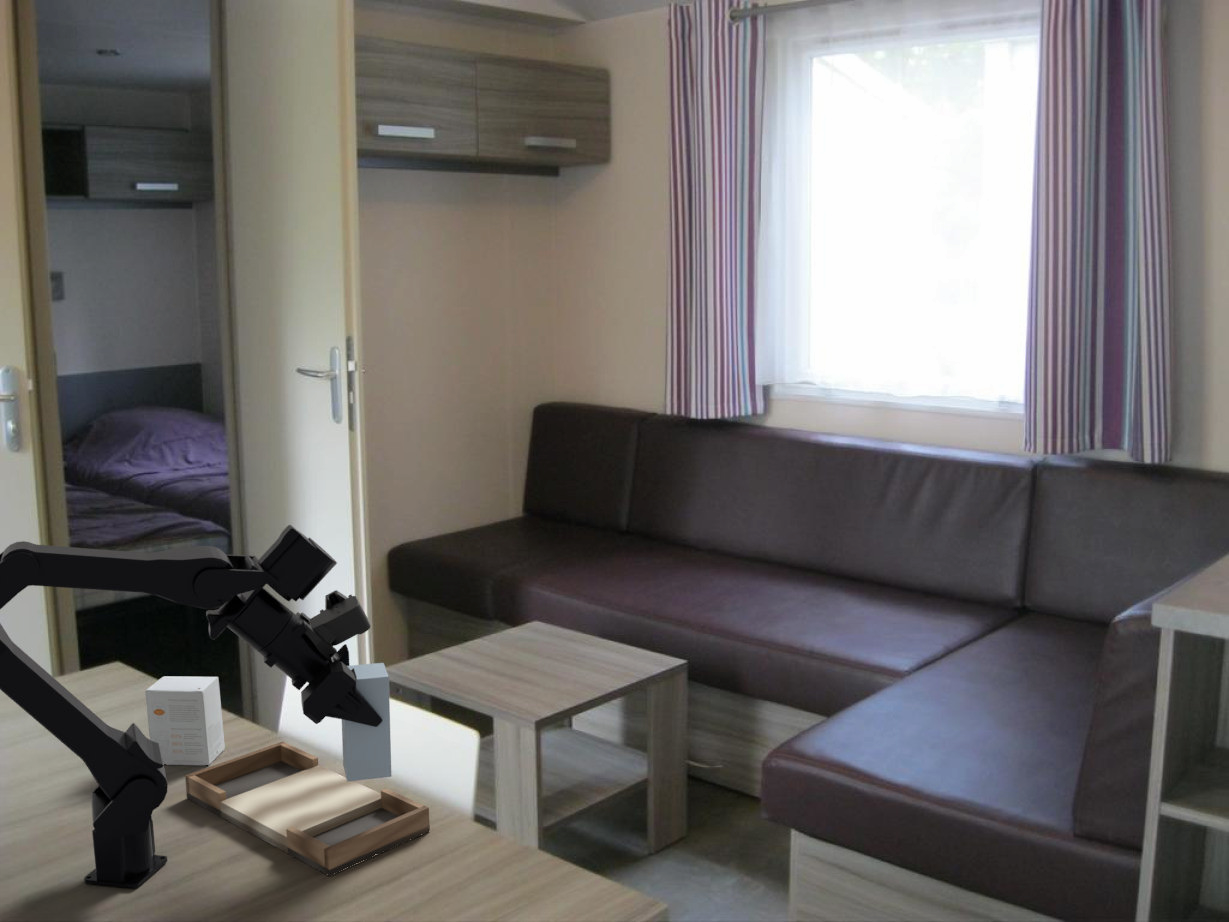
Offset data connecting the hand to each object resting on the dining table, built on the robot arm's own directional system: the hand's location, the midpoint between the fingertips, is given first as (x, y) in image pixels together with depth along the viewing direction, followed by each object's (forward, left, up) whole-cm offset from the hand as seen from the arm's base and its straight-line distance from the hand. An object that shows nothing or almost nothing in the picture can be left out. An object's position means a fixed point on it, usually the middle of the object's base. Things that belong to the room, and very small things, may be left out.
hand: (377, 715), depth 150 cm
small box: (+15, +34, -14) cm, 40 cm away
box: (+2, +11, -14) cm, 18 cm away
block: (-1, +1, -7) cm, 7 cm away
